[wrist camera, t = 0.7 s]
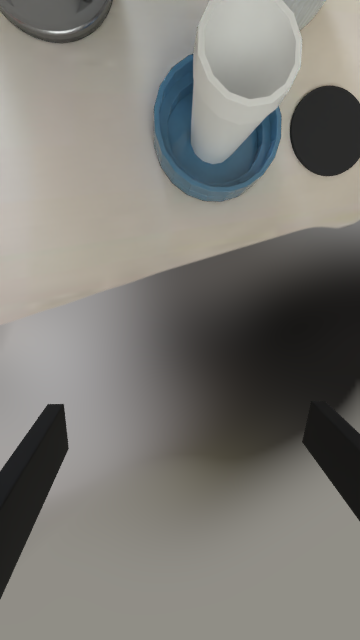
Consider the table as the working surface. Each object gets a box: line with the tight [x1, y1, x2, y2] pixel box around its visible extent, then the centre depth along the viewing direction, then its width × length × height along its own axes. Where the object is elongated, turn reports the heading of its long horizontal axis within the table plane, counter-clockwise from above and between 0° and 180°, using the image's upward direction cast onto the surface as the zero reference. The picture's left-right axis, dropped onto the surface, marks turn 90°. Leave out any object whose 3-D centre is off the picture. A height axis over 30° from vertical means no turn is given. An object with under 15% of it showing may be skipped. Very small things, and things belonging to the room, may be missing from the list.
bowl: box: [154, 54, 281, 201], centre depth 32 cm, size 16×16×4 cm
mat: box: [290, 86, 360, 176], centre depth 36 cm, size 12×12×1 cm
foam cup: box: [191, 0, 302, 164], centre depth 27 cm, size 10×9×13 cm
